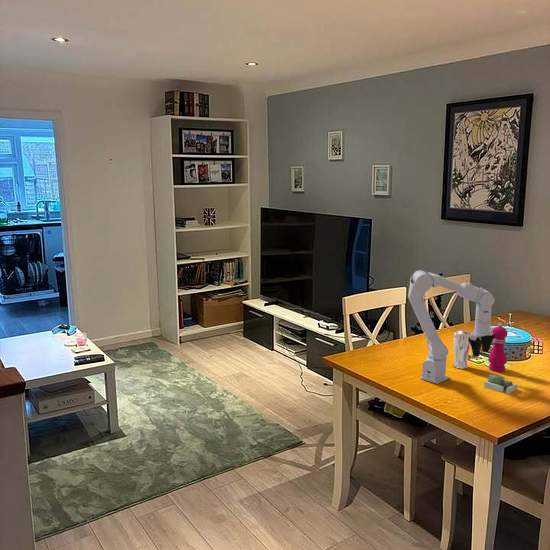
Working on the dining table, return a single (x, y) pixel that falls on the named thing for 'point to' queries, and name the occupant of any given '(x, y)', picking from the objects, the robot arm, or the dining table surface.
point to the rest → (501, 387)
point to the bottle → (499, 380)
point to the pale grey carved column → (461, 349)
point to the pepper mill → (498, 350)
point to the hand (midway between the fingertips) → (480, 353)
